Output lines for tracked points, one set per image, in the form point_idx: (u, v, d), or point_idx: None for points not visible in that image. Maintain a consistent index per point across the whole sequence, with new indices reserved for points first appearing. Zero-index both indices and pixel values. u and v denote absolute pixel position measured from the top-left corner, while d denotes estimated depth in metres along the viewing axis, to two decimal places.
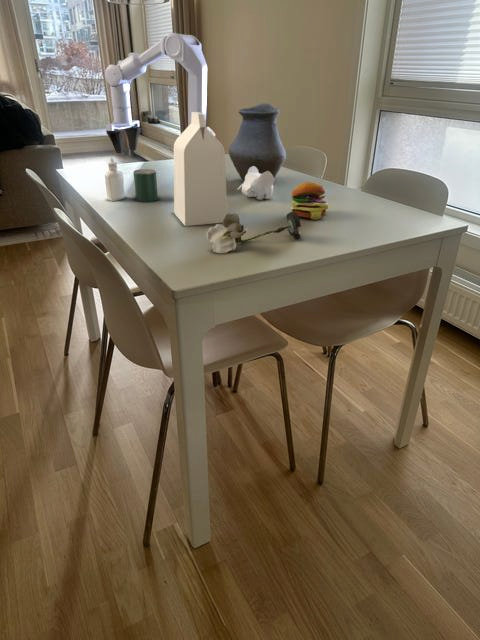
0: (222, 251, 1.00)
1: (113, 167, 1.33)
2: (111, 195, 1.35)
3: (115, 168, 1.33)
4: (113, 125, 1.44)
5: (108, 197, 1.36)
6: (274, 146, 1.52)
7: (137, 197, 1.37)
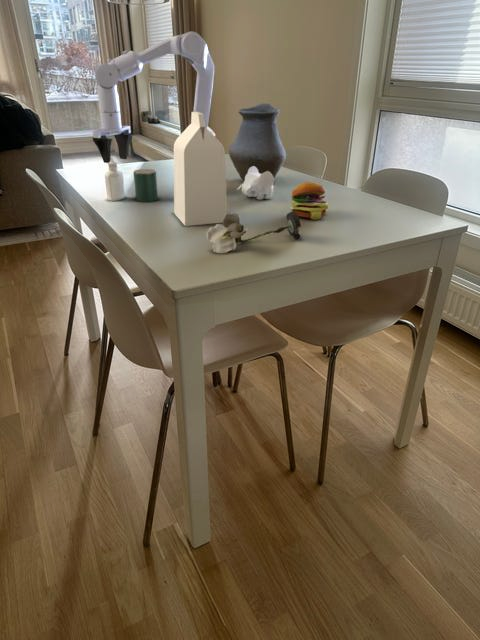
0: (222, 251, 1.00)
1: (113, 167, 1.33)
2: (111, 195, 1.35)
3: (115, 168, 1.33)
4: (100, 131, 1.28)
5: (108, 197, 1.36)
6: (274, 146, 1.52)
7: (137, 197, 1.37)
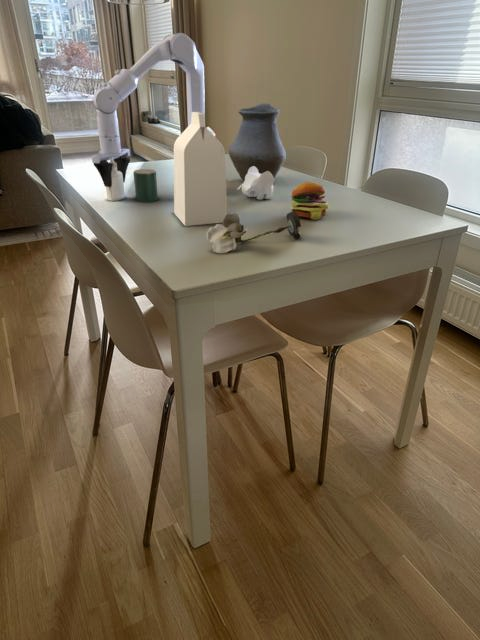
0: (222, 251, 1.00)
1: (113, 167, 1.33)
2: (111, 195, 1.35)
3: (115, 168, 1.33)
4: (99, 157, 1.27)
5: (108, 197, 1.36)
6: (274, 146, 1.52)
7: (137, 197, 1.37)
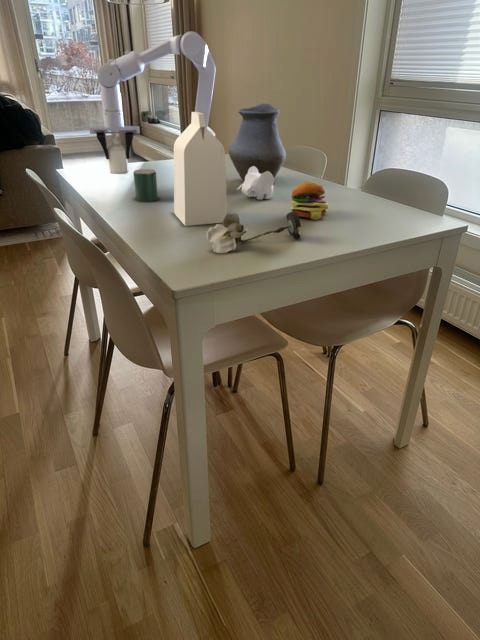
0: (222, 251, 1.00)
1: (113, 141, 1.37)
2: None
3: (115, 142, 1.37)
4: (92, 128, 1.34)
5: None
6: (274, 146, 1.52)
7: (137, 197, 1.37)
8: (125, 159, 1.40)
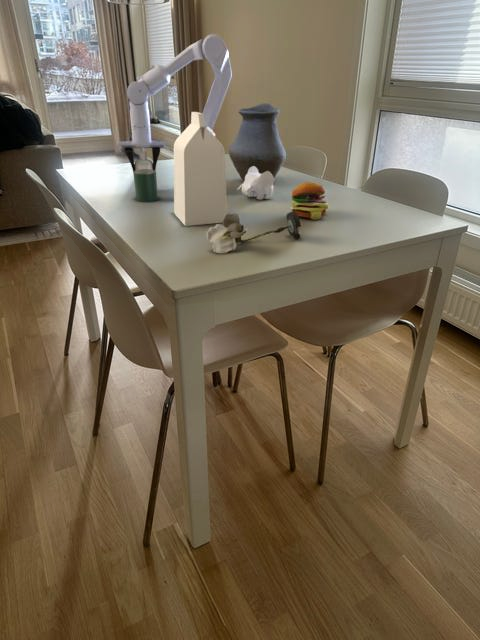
0: (222, 251, 1.00)
1: (140, 156, 1.41)
2: None
3: (142, 157, 1.41)
4: (121, 143, 1.38)
5: None
6: (274, 146, 1.52)
7: (137, 197, 1.37)
8: None
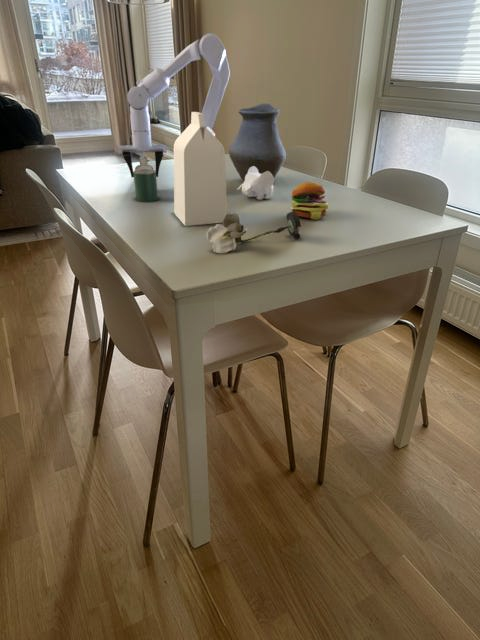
0: (222, 251, 1.00)
1: (141, 161, 1.42)
2: None
3: (142, 162, 1.42)
4: (121, 148, 1.38)
5: None
6: (274, 146, 1.52)
7: (137, 197, 1.37)
8: None
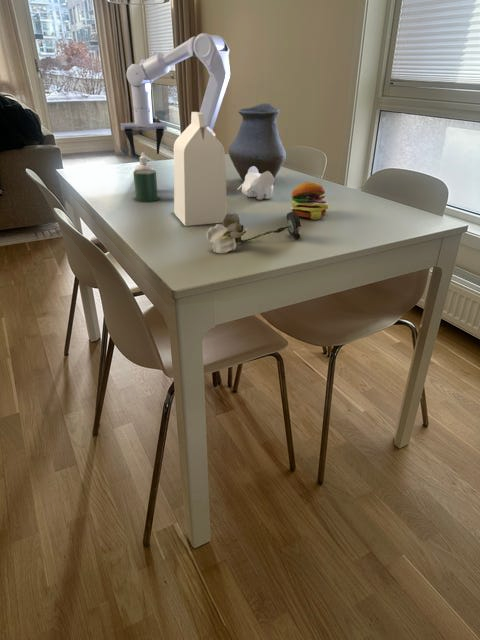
0: (222, 251, 1.00)
1: (141, 161, 1.42)
2: None
3: (142, 162, 1.42)
4: (123, 125, 1.43)
5: None
6: (274, 146, 1.52)
7: (137, 197, 1.37)
8: None
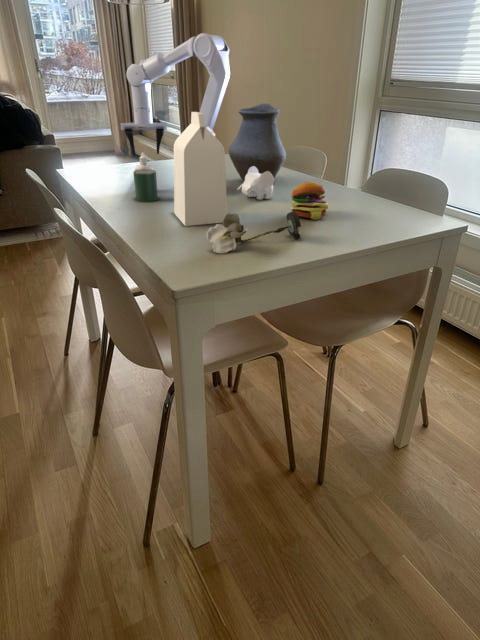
0: (222, 251, 1.00)
1: (141, 161, 1.42)
2: None
3: (142, 162, 1.42)
4: (123, 125, 1.43)
5: None
6: (274, 146, 1.52)
7: (137, 197, 1.37)
8: None
